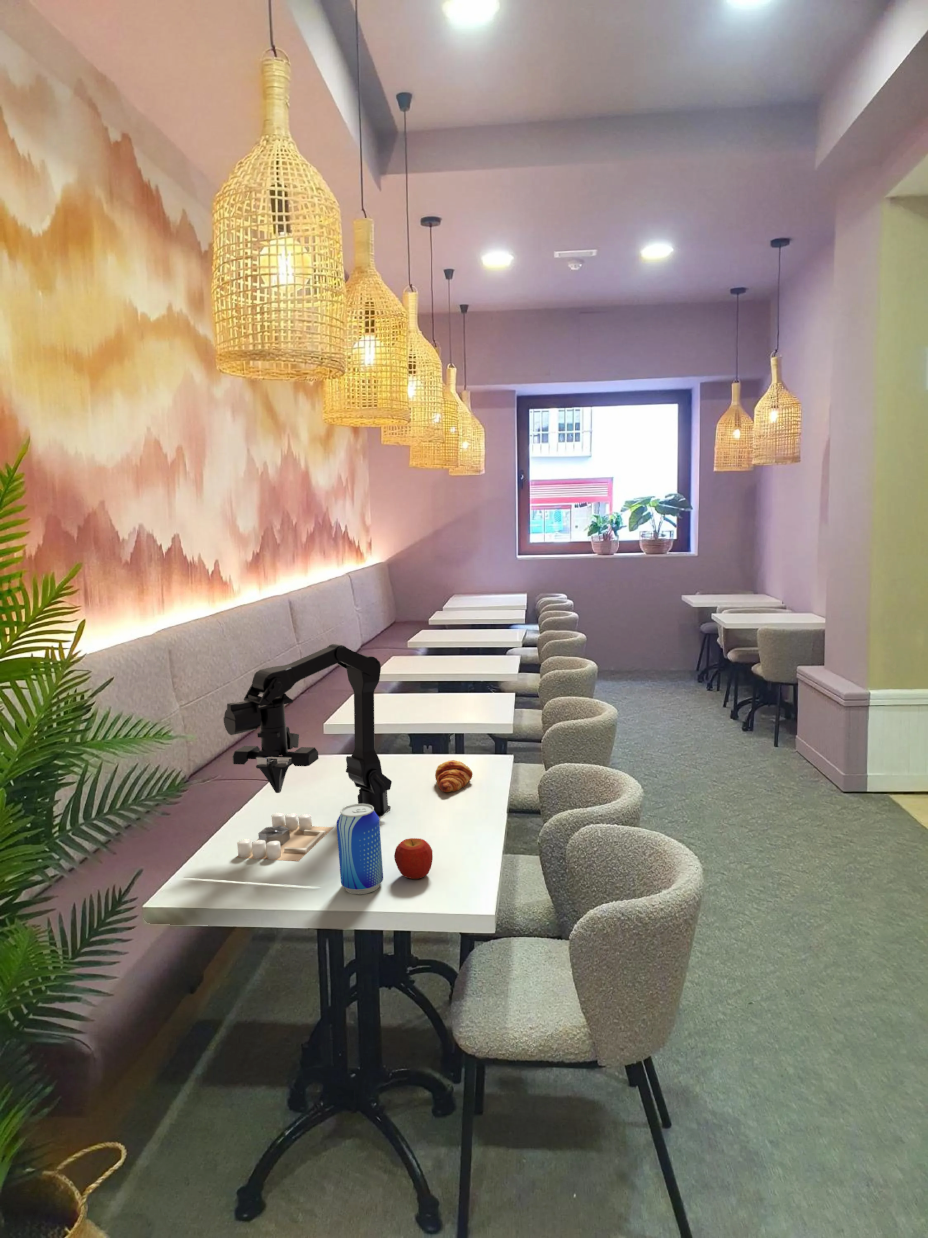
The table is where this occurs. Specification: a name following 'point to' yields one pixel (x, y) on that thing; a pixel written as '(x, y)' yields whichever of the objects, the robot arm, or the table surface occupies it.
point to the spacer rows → (273, 847)
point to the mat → (299, 843)
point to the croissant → (452, 775)
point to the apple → (413, 858)
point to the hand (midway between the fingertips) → (278, 792)
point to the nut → (275, 834)
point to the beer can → (359, 849)
